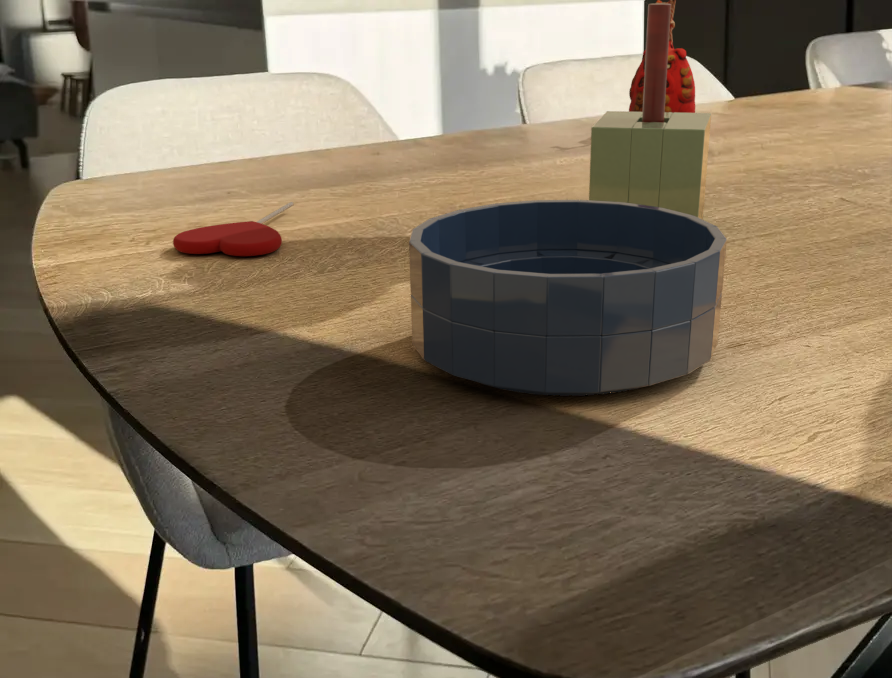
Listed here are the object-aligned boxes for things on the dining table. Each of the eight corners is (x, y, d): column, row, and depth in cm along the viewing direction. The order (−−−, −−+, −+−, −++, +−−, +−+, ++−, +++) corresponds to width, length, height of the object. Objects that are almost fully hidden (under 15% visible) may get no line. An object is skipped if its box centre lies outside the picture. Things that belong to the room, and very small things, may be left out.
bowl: (580, 290, 71) (584, 187, 68) (779, 361, 59) (793, 240, 56) (359, 341, 63) (353, 227, 60) (536, 436, 51) (538, 298, 48)
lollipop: (247, 207, 94) (162, 253, 81) (246, 196, 94) (161, 240, 80) (338, 211, 92) (266, 258, 79) (337, 200, 92) (265, 245, 78)
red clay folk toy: (618, 132, 126) (625, -11, 120) (640, 123, 132) (648, -14, 126) (683, 136, 123) (693, -11, 117) (703, 127, 128) (714, -14, 122)
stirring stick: (647, 223, 87) (660, 3, 80) (661, 227, 86) (675, 3, 79) (632, 226, 86) (643, 4, 79) (646, 230, 85) (659, 4, 78)
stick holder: (602, 212, 90) (606, 111, 87) (703, 217, 88) (711, 113, 85) (587, 236, 83) (591, 127, 80) (696, 241, 81) (704, 129, 78)
